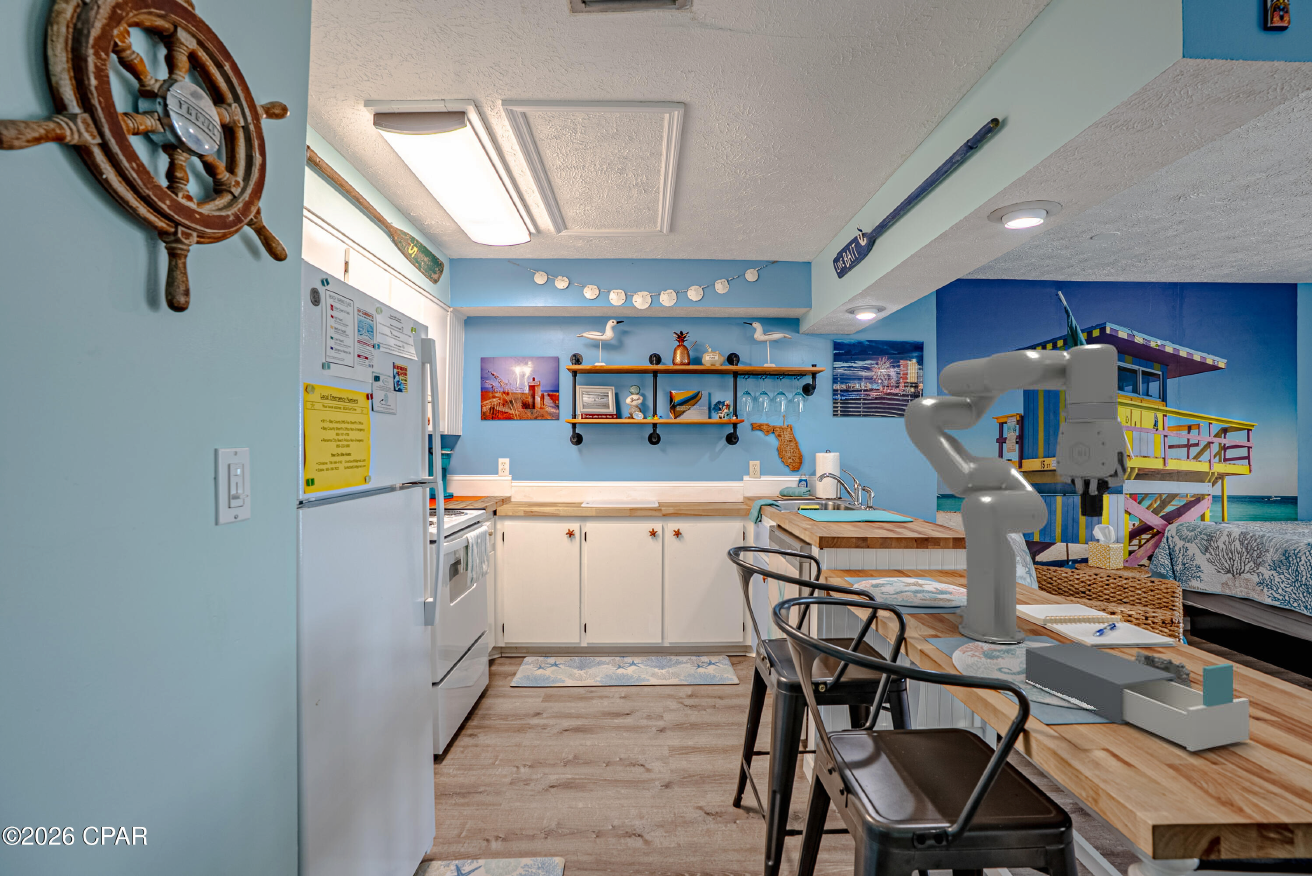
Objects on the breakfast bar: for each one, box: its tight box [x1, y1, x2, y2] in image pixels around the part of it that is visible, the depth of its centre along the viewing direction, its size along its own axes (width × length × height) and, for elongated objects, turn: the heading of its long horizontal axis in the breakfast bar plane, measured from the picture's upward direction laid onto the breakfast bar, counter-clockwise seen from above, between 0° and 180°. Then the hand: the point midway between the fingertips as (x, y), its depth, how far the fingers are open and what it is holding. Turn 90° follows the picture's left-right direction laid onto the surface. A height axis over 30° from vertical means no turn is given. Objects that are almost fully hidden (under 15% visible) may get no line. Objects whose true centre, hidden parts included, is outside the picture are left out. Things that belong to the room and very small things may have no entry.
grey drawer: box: [1122, 663, 1250, 752], centre depth 90 cm, size 16×11×11 cm
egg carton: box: [1134, 650, 1192, 689], centre depth 105 cm, size 11×8×4 cm
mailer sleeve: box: [1025, 641, 1176, 725], centre depth 98 cm, size 16×12×6 cm
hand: (1091, 516), depth 106 cm, fingers closed
